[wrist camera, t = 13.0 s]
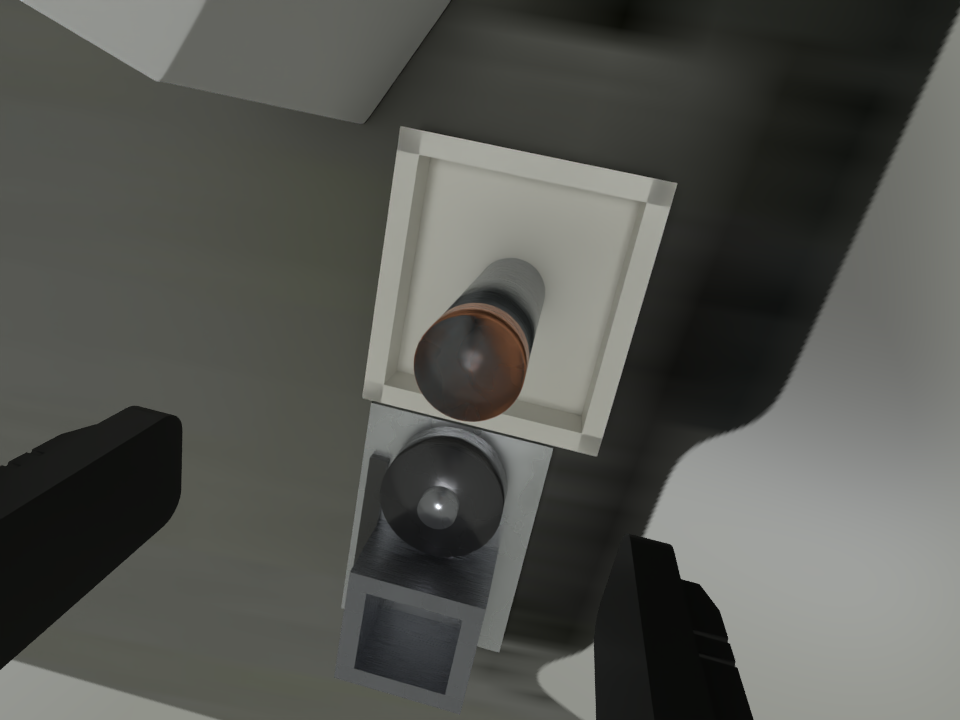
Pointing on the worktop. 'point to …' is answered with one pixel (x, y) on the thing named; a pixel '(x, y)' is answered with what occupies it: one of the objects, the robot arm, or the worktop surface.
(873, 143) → the worktop surface
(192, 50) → the milk carton
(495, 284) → the lock pin
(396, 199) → the tray
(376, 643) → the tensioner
